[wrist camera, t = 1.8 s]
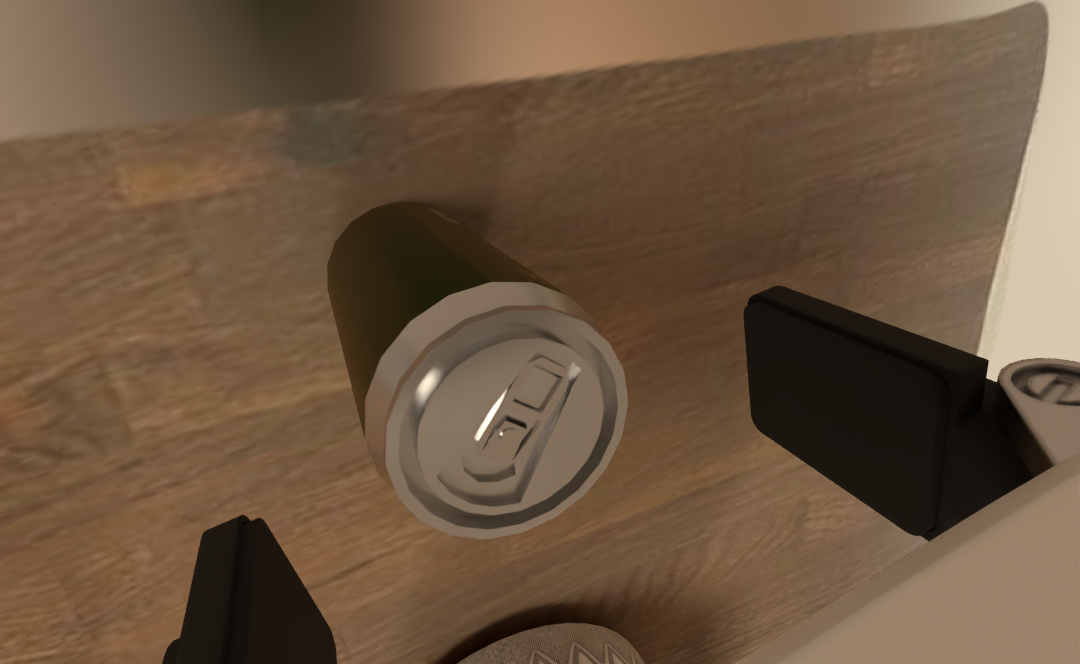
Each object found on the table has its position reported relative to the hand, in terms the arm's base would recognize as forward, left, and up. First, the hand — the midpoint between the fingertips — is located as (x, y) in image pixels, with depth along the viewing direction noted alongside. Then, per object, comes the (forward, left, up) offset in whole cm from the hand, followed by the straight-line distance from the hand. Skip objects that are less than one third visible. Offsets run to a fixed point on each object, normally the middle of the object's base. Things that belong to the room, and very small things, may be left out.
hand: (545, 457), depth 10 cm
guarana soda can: (0, 0, -13) cm, 13 cm away
